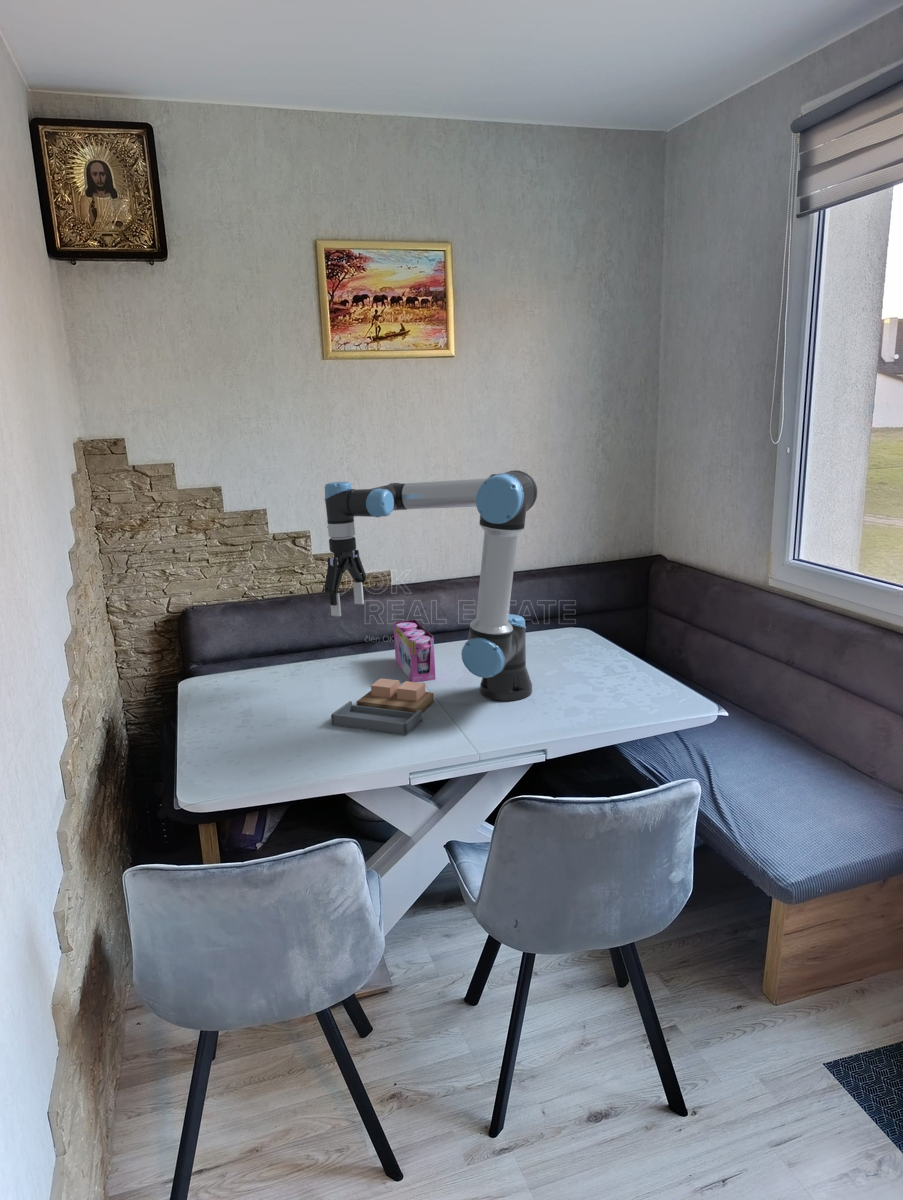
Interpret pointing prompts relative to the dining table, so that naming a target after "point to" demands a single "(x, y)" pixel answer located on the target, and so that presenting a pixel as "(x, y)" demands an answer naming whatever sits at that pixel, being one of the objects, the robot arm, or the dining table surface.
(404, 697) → the tile
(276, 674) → the dining table surface
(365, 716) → the tray
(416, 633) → the gum box
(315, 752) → the dining table surface
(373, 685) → the tile
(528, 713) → the dining table surface
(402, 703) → the brown wooden board
